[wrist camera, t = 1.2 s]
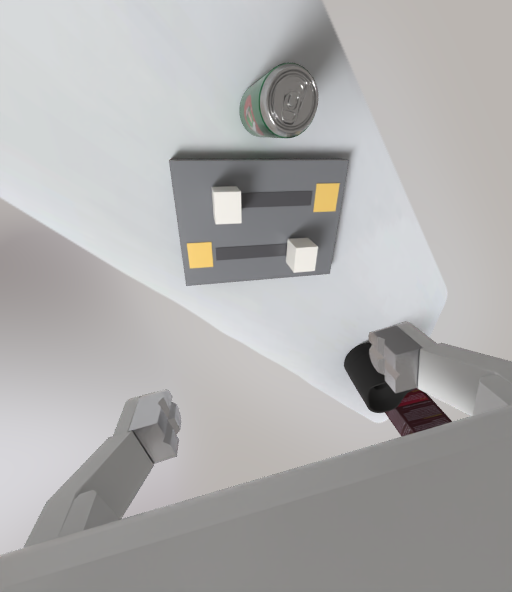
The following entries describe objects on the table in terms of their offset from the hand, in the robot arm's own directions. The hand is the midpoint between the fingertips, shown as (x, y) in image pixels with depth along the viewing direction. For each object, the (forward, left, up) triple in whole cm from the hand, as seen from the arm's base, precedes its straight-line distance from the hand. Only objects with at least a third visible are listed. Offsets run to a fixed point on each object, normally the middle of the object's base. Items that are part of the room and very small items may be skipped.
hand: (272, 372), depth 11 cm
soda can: (-10, +6, -30) cm, 32 cm away
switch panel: (+3, +6, -30) cm, 30 cm away
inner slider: (-1, +1, -27) cm, 27 cm away
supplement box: (+41, +37, -30) cm, 63 cm away
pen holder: (+33, +29, -30) cm, 53 cm away
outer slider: (+6, +11, -27) cm, 30 cm away
